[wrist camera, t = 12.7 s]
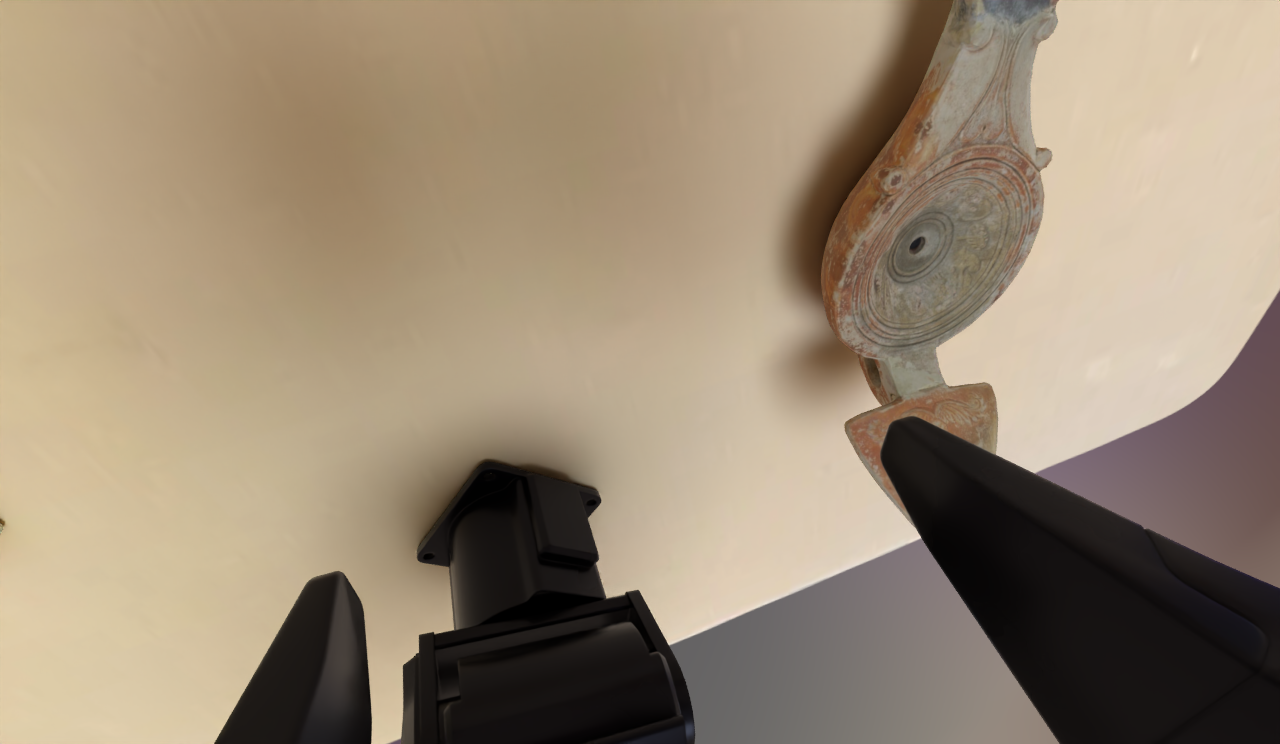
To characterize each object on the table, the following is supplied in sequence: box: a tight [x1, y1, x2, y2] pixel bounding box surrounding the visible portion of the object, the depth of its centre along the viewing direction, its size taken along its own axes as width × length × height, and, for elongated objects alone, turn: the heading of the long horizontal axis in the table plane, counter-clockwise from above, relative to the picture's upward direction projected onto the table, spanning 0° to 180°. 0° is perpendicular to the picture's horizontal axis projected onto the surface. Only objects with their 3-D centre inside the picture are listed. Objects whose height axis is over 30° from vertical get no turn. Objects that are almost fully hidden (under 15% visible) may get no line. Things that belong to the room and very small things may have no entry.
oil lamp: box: [821, 0, 1059, 527], centre depth 21 cm, size 9×21×10 cm, turn 179°
